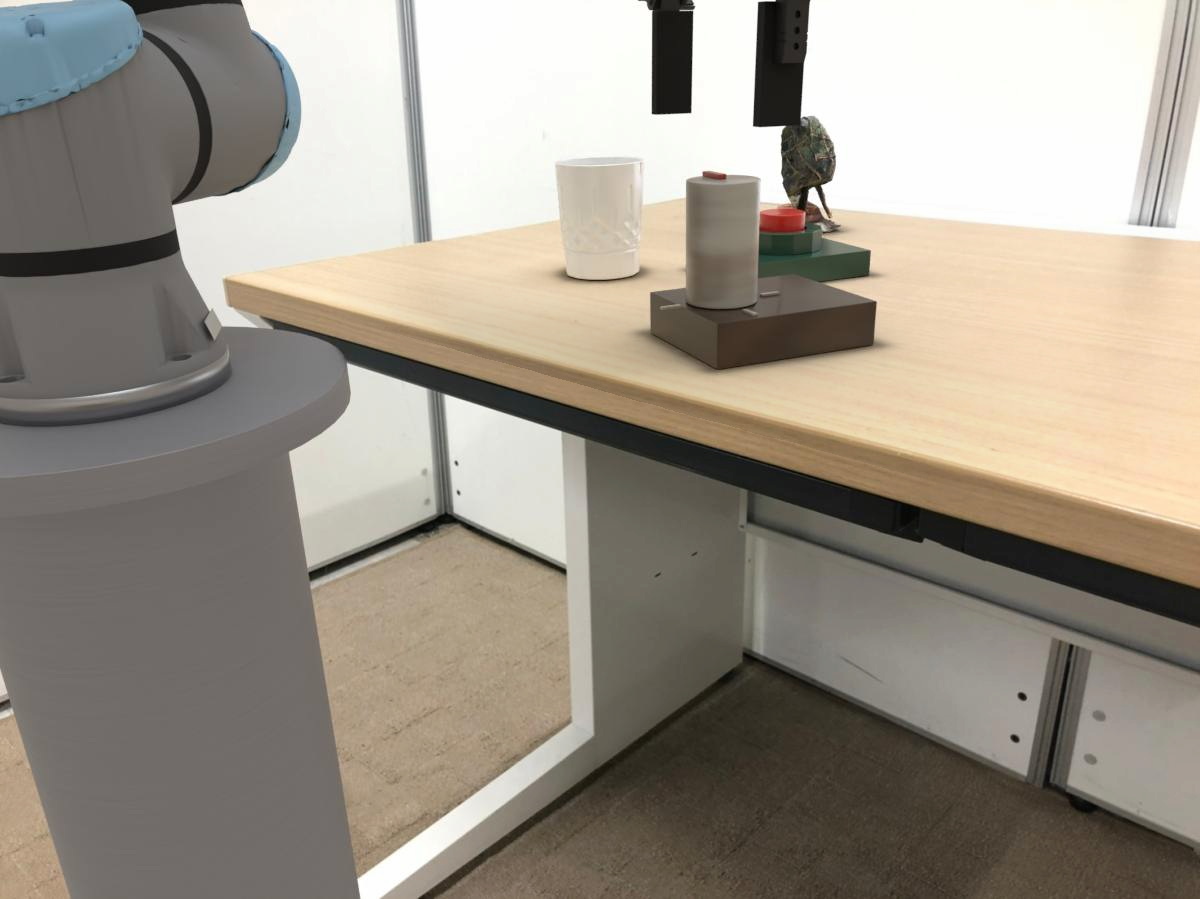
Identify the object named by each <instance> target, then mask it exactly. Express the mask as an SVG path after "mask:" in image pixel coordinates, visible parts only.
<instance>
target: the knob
mask: <svg viewBox="0 0 1200 899" xmlns="http://www.w3.org/2000/svg"><path fill="white" fill-rule="evenodd" d="M701 174H702V175H699V176H693V177H689V178H687V179H686V180H685V288H686V302H687V303H688V304H690V305H692V306H696V307H700V308H708V309H734V308H742V307H747V306H750V305H753V304H755V303H756V302H757V289H758V255H759V222H760V211H761V188H762V186H761V184H762V180H761V178H760V177H759V176H754V175H746V174H745V175H744V174H727V173H723V172H718V171H712V170H703V171H702V173H701Z"/></svg>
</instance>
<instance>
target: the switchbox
mask: <svg viewBox="0 0 1200 899" xmlns="http://www.w3.org/2000/svg"><path fill="white" fill-rule="evenodd" d="M871 252H872V250H870V249H868V248H864V247H860V246H856V245H852V244H849V243H844V242H841V241H837V240H833V239H829V238H825V237H823V233H822V228H821V226H820V225H816V224H812V223H806V222H805V230H802V231H794V232H769V231H761V230H759V255H758V279H759V278H767V277H775V276H783V275H791V274H795V275H798V276H801V277H804V278H808V279H811V280H814V281H817V282H820V283H821V282H827V281H835V280H843V279H850V278H856V277H857V278H858V277H866V276H870V268H871V256H872V254H871Z"/></svg>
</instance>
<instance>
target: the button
mask: <svg viewBox="0 0 1200 899" xmlns="http://www.w3.org/2000/svg"><path fill="white" fill-rule="evenodd" d="M759 230H761V231H769V232H794V231H802V230H805V211H802V210H798V209H777V208H770V209H763V210H760V222H759Z"/></svg>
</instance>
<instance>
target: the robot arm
mask: <svg viewBox="0 0 1200 899" xmlns="http://www.w3.org/2000/svg"><path fill="white" fill-rule="evenodd" d="M637 1H638V2H646V6H647V9H648V10H649V11H651V115H654V116H655V115H656V116H658V115H660V116H662V115H682V114H685V115H686V114H692V105H693V104H692V103H693V102H692V101H693V100H692V99H693V55H694V53H693V50H694V49H693V48H694V10H695V8H696V5H695V2H694V1H693V0H637ZM810 5H811V0H766V1H764V0H763V1H757V18H756V39H755V45H756V46H755V63H754V64H755V66H754V87H753V89H754V90H753V111H752V112H753V115H752V127H753V128H772V127H773V128H774V127H785V126H796V125H800V123H801V118H802V106H803V105H802V104H803V88H804V71H805V70H804V69H805V61H806V56H807V53H808V42H807V41H808V36H809V35H808V33H809V20H810V7H811V6H810ZM251 28H252V27H251V25H250V22H249V19H248V16H247V12H246V10H245V7H244V3H243V1H242V0H66V1H55V2H40V3H32V4H30V3H29V4H22V5H18V6H16V5H13V6H12V5H11V6H1V7H0V423H3V424H9V425H18V426H41V427H45V426H69V425H81V424H90V423H98V422H105V421H112V420H118V419H124V418H129V417H134V416H139V415H143V414H148V413H152V412H156V411H159V410H163V409H167V408H170V407H174V406H177V405H180V404H183V403H186V402H188V401H191V400H194V399H196V398H199V397H201V396H203V395H205V394H207V393H209V392H211V391H213V390H215V389H216V388H218V387H220V386H221V385H222V384H224V383H225V382H226V381H227V380H228V379H229V378H230V376H231V374H232V366H231V360H230V355H229V349H228V345H227V343H226V342H225V339H224V337H223V335H222V333H221V331H220V329H221V327H222V326H223V325H222V323H221V321H220V319H219V317H218V315H217V314H216V311H215V310H214V308H213V307H211V309H209V308H208V305H207V303H206V302H205V300H204V299H203V296H202V295H201V293H200V291H199V289H198V287H197V285H196V284H195V282H194V280H193V278H192V277H191V274H190V272H189V271H188V269H187V267H186V265H185V262H184V260H183V255H182V251H181V246H180V241H179V235H178V231H177V225H176V224H177V223H176V219H175V213H174V208H173V206H176V205H181V204H184V203H190V202H194V201H198V200H202V199H207V198H211V197H225V196H228V195H231V194H235V193H240V192H243V191H245V190H246V189H248V188H250V187H251V186H254V185H256V184H259V183H261V182H263V181H265V180H267V179H269V178H270V177H271V176H273V175H274V174H276V172H277V171H278V170H280V169H281V168H282V167H283V165H284V164H285V163H286V161H287V160H288V159H289V156H290V155H291V153H292V150H293V148H294V147H295V145H296V143H297V140H298V137H299V133H300V129H301V123H302V99H301V93H300V89H299V84H298V81H297V78H296V75H295V73H294V71H293V69H292V67H291V65H290V64H289V62H288V60H287V58H286V57H285V55H284V54H283V53H282V52H281V51H280V50H279V48H278V47H277V46H276V45H275V44H272V43H271V42H269V41H268V39H266V38H265V37H264V36H263V35H261V33H259V32H258V31H256V30H254V29H251Z"/></svg>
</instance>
